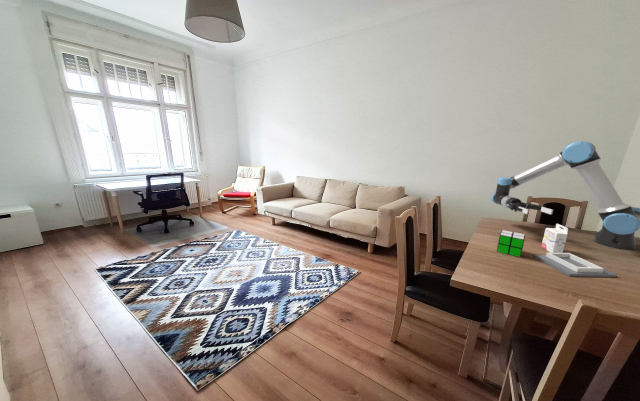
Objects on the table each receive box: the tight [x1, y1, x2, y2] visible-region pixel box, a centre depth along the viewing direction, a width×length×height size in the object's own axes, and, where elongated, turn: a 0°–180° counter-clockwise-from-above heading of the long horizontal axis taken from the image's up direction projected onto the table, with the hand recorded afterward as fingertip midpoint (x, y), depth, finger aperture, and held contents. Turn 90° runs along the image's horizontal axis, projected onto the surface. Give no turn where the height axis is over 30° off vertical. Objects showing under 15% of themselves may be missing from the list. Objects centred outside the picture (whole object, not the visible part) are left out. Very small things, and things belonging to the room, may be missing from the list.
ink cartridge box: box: [540, 223, 569, 253], centre depth 123 cm, size 9×5×15 cm, turn 168°
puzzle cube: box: [496, 229, 526, 258], centre depth 123 cm, size 10×10×10 cm
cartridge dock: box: [533, 252, 618, 278], centre depth 109 cm, size 20×18×3 cm
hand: (539, 212), depth 132 cm, fingers open, 13 cm apart
